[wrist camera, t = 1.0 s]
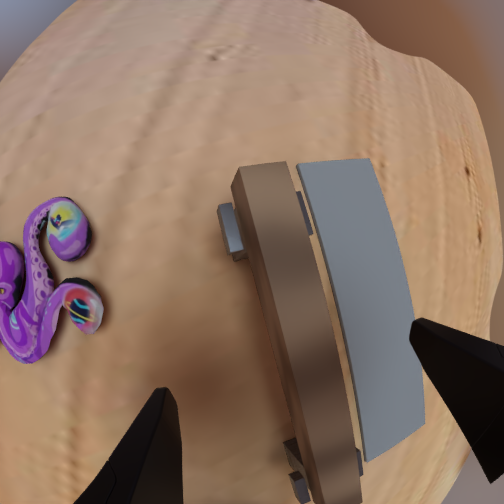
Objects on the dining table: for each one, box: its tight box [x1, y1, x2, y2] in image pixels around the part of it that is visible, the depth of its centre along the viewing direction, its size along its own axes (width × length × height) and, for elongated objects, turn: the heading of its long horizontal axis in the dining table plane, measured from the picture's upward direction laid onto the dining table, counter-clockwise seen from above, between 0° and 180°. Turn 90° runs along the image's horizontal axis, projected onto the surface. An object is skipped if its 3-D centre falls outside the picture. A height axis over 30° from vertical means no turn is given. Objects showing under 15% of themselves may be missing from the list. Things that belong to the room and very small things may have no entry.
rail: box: [231, 161, 362, 504], centre depth 16 cm, size 26×3×3 cm, turn 15°
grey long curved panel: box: [296, 158, 425, 462], centre depth 25 cm, size 32×9×1 cm, turn 15°
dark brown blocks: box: [283, 438, 363, 504], centre depth 19 cm, size 3×6×6 cm, turn 105°
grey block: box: [217, 191, 313, 262], centre depth 21 cm, size 3×6×6 cm, turn 105°
